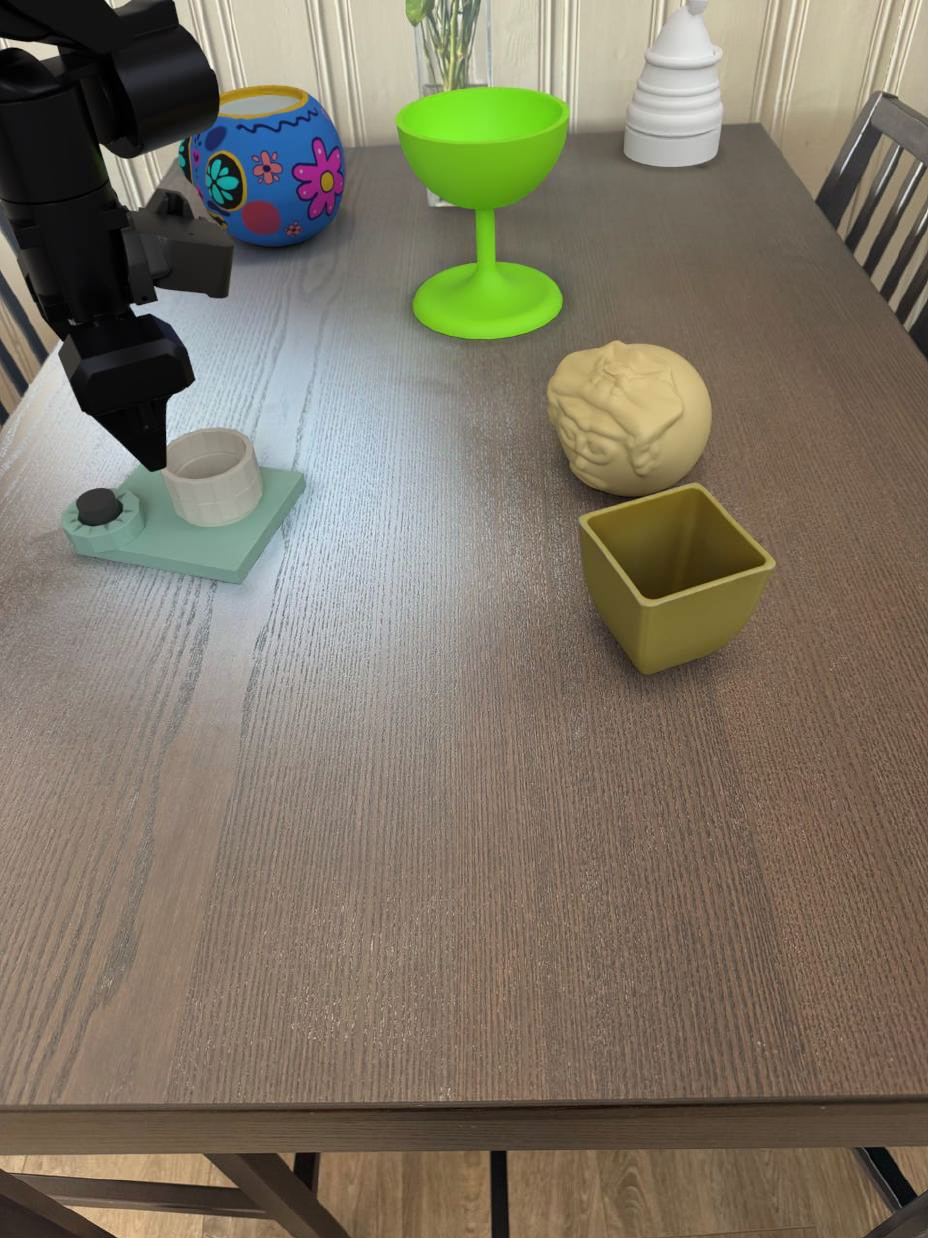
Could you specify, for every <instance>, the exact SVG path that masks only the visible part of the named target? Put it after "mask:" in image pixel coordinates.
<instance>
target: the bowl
mask: <svg viewBox="0 0 928 1238" xmlns="http://www.w3.org/2000/svg"><path fill="white" fill-rule="evenodd" d="M255 451H256V450H255V448H254V444H253V443H252V441H251V440H250V438H249V436H248V435H247V434H245V433H244V432H241V431H239V430H237V429H234V428H228V427H221V426H216V427H206V428H199V429H196V430H192V431H189V432H186V433H184V434H181V435H180V436H178V437H177V438H175V439H173V440H172V441H170V442H168V443H167V467H166V468H164V469H162V470H159V471H160V473H161V476H162V479H163V482H164V484H165V487H166V490H167V492H168V495H169V498H170V501H171V503H172V506H173V508H174V510H175V512H176V514H177V515H178V516H180V517H182V518H183V519H185V520H186V521H187V522H189V523H191V524H193V525H196V526H200V527H220V526H225V525H229V524H232V523H235V522H237V521H239V520H241V519H243V518H245V517H246V516H248V515H249V514H250V513H252V512H253V511H254V510H255V508H256V507H257V505H258V504H259V501H260V498H261V497H262V495H263V482H262V478H261V474H260V470H259V466H260V465H259V462H258V459H257V456H256V452H255Z"/></svg>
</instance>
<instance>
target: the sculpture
mask: <svg viewBox="0 0 928 1238" xmlns="http://www.w3.org/2000/svg"><path fill="white" fill-rule="evenodd" d="M554 372H555V373H554V375H552V377H550V378H549V380H548V382H547V386H546V398H547V402H548V406H547V409H546V413H547V416H548V421H549V423H550V424H551V425H552V426H554V427H555V430H556V434H557V436H558V440H559V442H560V444H561V447H562V449H563V451H564V454H565V456H566V458H567V460H568V462H569V469H570V471H571V472H572V473H573V474H574V475H575V476H576V477H577V478H578V479H579V480H580V481H582V483H584V484H585V485H587V486H588V487H590V488H592V489H595V490H599V491H602V492H605V493H608V494H611V495H613V496H619V497H632V498H633V497H645V496H650V495H653V494H656V493H660V492H663V491H665V490H667V489H669V488H670V487H672V486H674V485H675V484H677V483H678V482H680V481H681V480H682V479H684V478H685V476H686V475H687V474H688V473H689V472H690V471H692V469H693V467H694V466H695V465H696V463H697V462H698V461H699V459H700V457H701V456H702V454H703V452H704V450H705V448H706V445H707V442H708V440H709V437H710V433H711V429H712V418H713V415H712V413H713V412H712V403H711V398H710V393H709V391H708V388H707V386H706V384H705V382H704V380H703V378H702V376H701V375H700V374H699V372H698V371H697V370H696V369H695V367H694V366H693V364H691V363H690V362H689V361H688V360H686V358H684V357H683V356H681V355H680V354H678V353H676V352H675V351H673V350H671V349H670V348H669V349H668V348H666V347H663V346H660V345H656V344H652V343H651V344H650V343H627V344H626V343H624V342H623V341H621V340H618V339H615V340H612V341H611V342H608V343H607V344H605V345H603V346H601V347H595V348H589V349H582V350H577V351H573V352H571V353H568V354H567V355H566V356H565V357H564V358H563V359H562V360H561V361H560V363H559V364H558V366H557V368H556V369H555V371H554Z"/></svg>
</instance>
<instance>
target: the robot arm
mask: <svg viewBox="0 0 928 1238" xmlns="http://www.w3.org/2000/svg"><path fill="white" fill-rule="evenodd" d="M0 39H3V40H10V41H15V42H22V43H39V44H43V45H49V46H55V47H57V52H58V55H56V56H52V57H48V58H45V59H44V58H43V59H39V58H37V57H36V56H34V55H33V54H32V53H30V52H29V51H27V50H26V49H23V48H20V47H15V46H9V47H6V48H2V49H0V206H1V209H2V211H3V214H4V216H5V219H6V221H7V223H8V225H9V228H10V230H11V232H12V234H13V237H14V239H15V241H16V244H17V247H18V250H19V252H20V253H19V254H18V256H17V258H16V262H17V265H18V267H19V270H20V273H21V275H22V278H23V280H24V282H25V286H26V287H27V290H28V293H29V295H30V297H31V299H32V301H33V303H35V306H36V308H37V310H38V313H39V315H40V317H41V318H42V319H43V321H44V322H45V323H46V324H47V326H49V328H50V329H51V330H52V331H53V332H54V333H55V335H56V336H57V337H58V338H59V340H60V341H61V342H62V345H61V347H60V348H59V349H58V352H57V355H58V358H59V360H60V361H59V362H60V364H61V366H62V368H63V370H64V373H65V376H66V378H67V381H68V384H69V385H70V388H71V390H72V393H73V396H74V398H75V399H76V402H77V404H78V406H79V409H80V411H81V412H82V413H85V414H86V415H87V416H89V417H92V419H94V420H95V421H96V422H97V423H98V424H99V425H100V426H101V427H102V428H104V430H106V431H107V432H108V433H109V434H110V435H111V436H112V437H113V438H114V439H115V440H116V441H117V442H119V444H120V445H122V446H123V447H124V448H125V449H126V451H127V452H129V453H130V454H131V455H132V456H133V457H134V458H135V459H136V460H137V461H138V463H139V464H140V463H141V464H142V465H143V466H144V467H145V468H146V469H147V470H148V471H149V472H155V471H158V470H162V469H164V468H166V467H167V445H168V442H167V441H168V439H167V438H168V437H167V406H168V403H169V401H170V399H171V398H172V397H173V396H174V395H177V394H179V393H181V392H183V391H184V390H186V389H188V388H190V387H191V386H192V385H193V383H195V381H197V380H196V376H195V373H194V369H193V366H192V362H191V361H192V360H191V358H190V355H189V351H188V349H187V347H186V346H185V344H184V343H183V341H182V339H181V338H180V336H179V335H178V333H177V332H176V331H175V329H174V327H173V326H172V325H171V324H170V323H169V322H168V321H165V320H163V319H161V318H159V317H158V316H156V315H154V314H152V313H150V312H148V313H144V314H140V315H136V313H135V312H134V310H133V308H132V307H131V305H133V304H135V305H136V306H137V307H139V306H143V305H147V304H152V303H156V302H158V301H159V299H158V295H157V292H156V288H157V289H161V290H166V291H174V292H184V293H185V292H186V293H194V294H204V295H207V297H208V298H210V299H226V298H228V297H229V294H230V293H229V292H230V285H231V279H232V278H231V277H232V270H233V260H234V253H235V242H234V241H233V240H232V238H230V237H229V236H228V234H226V233H225V232H226V231H225V230H224V229H223V228H222V227H221V226H220V225H219V224H216V223H215V222H212V221H209V220H208V218H206V216H203V215H201V216H200V215H199V216H198V218H195V215H194V213H193V210H192V207H191V204H190V201H189V200H188V198H186V196H185V195H184V194H183V193H182V192H181V191H178V190H174V189H173V190H172V189H167V188H161V187H157V188H156V189H155V191H154V192H153V194H152V196H151V197H150V199H149V201H148V202H147V204H146V206H145V207H143V206H138V209H137V210H131V209H129V208H128V206H127V205H126V204H124V205H123V204H122V203H121V202H120V199H119V197H118V194H117V192H116V190H115V188H114V187H113V186H112V182H111V178H110V176H109V172H108V169H107V165H106V162H105V159H104V156H103V153H102V152H103V151H102V149H101V146H103V147H104V148H105V149H107V151H109V152H110V153H111V154H113V155H115V156H116V157H118V158H120V159H124V160H129V159H136V158H138V157H141V156H143V155H146V154H148V153H151V152H154V151H156V150H159V149H162V148H165V147H167V146H170V145H172V144H175V143H177V142H179V141H180V142H181V141H182V140H183V139H186V138H189V137H191V136H194V135H197V134H199V133H202V132H205V131H207V130H208V129H210V128H211V127H212V126H213V125H214V123H215V122H216V120H217V117H218V113H219V108H220V94H221V93H220V87H219V86H220V85H219V82H218V76H217V73H216V71H215V70H214V69H213V68H212V67H211V65H210V63H209V60H208V58H207V56H206V54H205V52H204V50H203V49H202V47H201V45H200V44H199V43H198V41H197V40H196V38H195V36H194V35H193V34H192V33H191V32H190V31H188V29H187V28H186V27H185V26H183V25H182V24H181V23H180V19H179V16H178V11H177V7H176V2H175V1H174V0H129V1H128V2H126V3H125V4H124V5H121V6H118V7H115V8H112V7H111V5H110V4H109V3H108V2H107V1H106V0H0Z"/></svg>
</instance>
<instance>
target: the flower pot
mask: <svg viewBox="0 0 928 1238" xmlns="http://www.w3.org/2000/svg"><path fill="white" fill-rule="evenodd" d="M577 521H578V522H577V523H578V531H579V533H578V534H579V542H580V552H581V553H580V554H581V563H582V571H583V577H584V582H585V585H586V587H587V591H588V594H589V596H590V598H591V601H592V603H593V605H594V607H595V609H596V611H597V612H598V614H599V616H600V617H601V619H602V620H603V622H604V624H605V626H606V627H607V628H608V630H609V631H610V632H611V634H612V635H613V636H614V638H615V640H616V641H617V643H618V644H619V645H620V647H622V649H623V651H624V652H625V654H626V655H627V657H628V658H629V659H630V661H631V662H632V664H633V665H634V667H635V669H636V670H637V671H638V673H641V674H642V675H644V676H650V675H654V674H656V673H659V672H662V671H665V670H668V669H671V668H673V667H676V666H679V665H683V664H685V663H688V662H692V661H694V660H697V659H701V658H704V657H707V656H709V655H710V654H712V653H714V652H716V651H717V650H719V649H721V648H722V647H724V646H725V645H727V644H728V643H729V642H730V641H732V640H733V639H734V638H735V637H737V636H738V635H739V634H740V633H741V631H743V629H744V628H745V627H746V625H747V624H748V623H749V621H750V620H751V619H752V616H753V614H754V612H755V610H756V608H757V606H758V604H759V602H760V599H761V598H762V595H763V593H764V591H765V590H766V587H767V585H768V583H769V581H770V578H771V576H772V574H773V572H774V570H775V568H776V565H777V562H776V560H775V559H774V558H773V557H772V556H771V554H770V553H769V552H768V551H767V550H765V549H764V548H763V546H761V544H760V543H759V542H758V541H756V540H755V538H753V537H752V536H751V535H750V533H748V531H746V530H745V529H744V528H743V526H741V525H740V524H739V523H738V522H737V521H736V520H735V519H734V518H733V517H732V515H730V513H729V512H728V511H727V510H726V509H725V507H723V506H722V504H721V503H720V502H719V501H718V500H717V499H716V498H715V496H713V495H712V493H711V492H710V491H709V490H708V489H706V487H704V486H703V485H701V484H700V483H699V482H690V483H687V484H683V485H679V486H676V487H674V488H669V489H665V490H662V491H659V492H656V493H653V494H649V495H645V496H642V497H639V498H636V499H633V500H629V501H625V502H622V503H619V504H615V505H612V506H608V507H604V508H601V509H597V510H593V511H590V512H587V513H585V514H582V515H580V516H578V518H577Z"/></svg>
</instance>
